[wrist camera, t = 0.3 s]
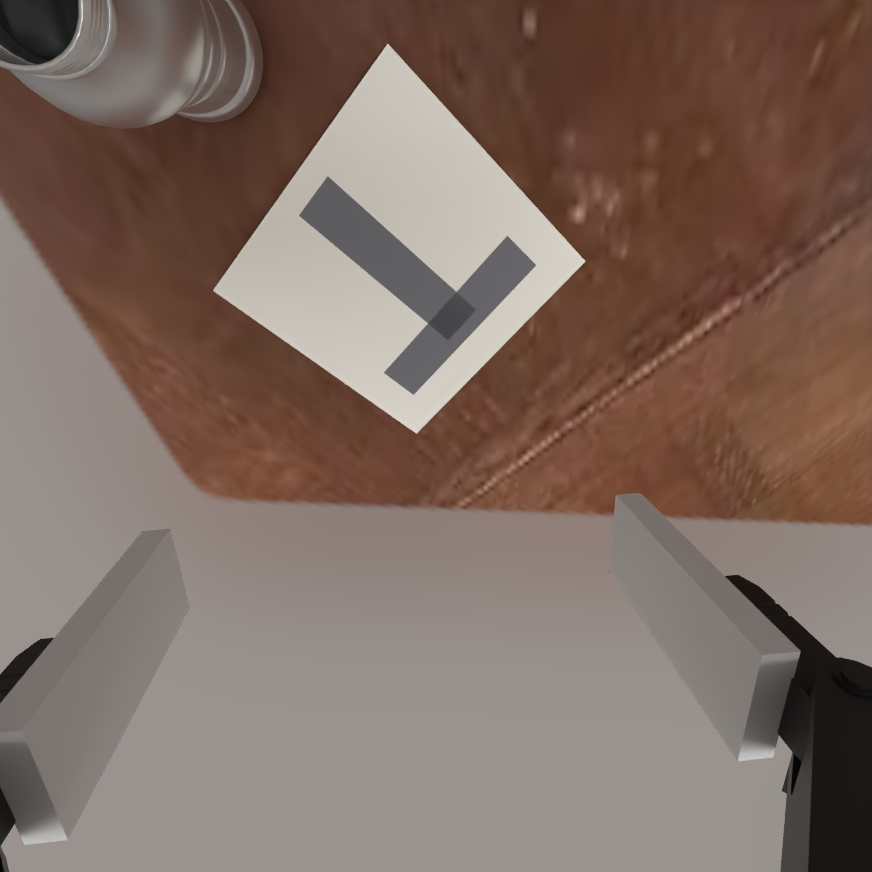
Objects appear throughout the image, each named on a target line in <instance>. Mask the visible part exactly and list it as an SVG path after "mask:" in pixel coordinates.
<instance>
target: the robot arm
mask: <svg viewBox="0 0 872 872" xmlns="http://www.w3.org/2000/svg"><path fill="white" fill-rule="evenodd" d="M609 572H610V574H611V575H612V577H613V578H614V580H615V581H616V583H617V584H618V586H619V587H620V588H621V590H622V591H623V593H624V594H625V596H626V597H627V599H628V600H629V602H630V603H631V605H632V606H633V608H634V609H635V611H636V612H637V614H638V615H639V617H640V618H641V620H642V621H643V623H644V624H645V625H646V627H647V628H648V630H649V631H650V633H651V634H652V636H653V637H654V639H655V640H656V642H657V643H658V645H659V646H660V648H661V649H662V651H663V652H664V653H665V655H666V656H667V658H668V659H669V661H670V662H671V664H672V665H673V667H674V668H675V670H676V671H677V673H678V674H679V676H680V677H681V679H682V680H683V681H684V683H685V684H686V686H687V687H688V689H689V690H690V692H691V693H692V695H693V696H694V698H695V699H696V700H697V702H698V704H699V705H700V707H701V708H702V709H703V711H704V712H705V714H706V715H707V717H708V718H709V720H710V721H711V723H712V724H713V726H714V727H715V729H716V730H717V731H718V733H719V734H720V736H721V737H722V739H723V740H724V742H725V743H726V745H727V746H728V748H729V749H730V751H731V752H732V754H733V755H734V757H735V758H736V759H737V761H744V760H753V759H761V758H769V757H773V755H774V752H775V747H776V744H777V740H778V736H779V735H780V737H781V738H782V739H783V741H784V742H785V743H786V744H787V746H788V747H789V748H790V749H791V751H792V752H793V753H792V757H791V760H790V764H789V767H788V771H787V775H786V778H785V782H784V785H783V789H782V791H783V792H785V793H787V800H786V812H785V824H784V837H783V849H782V861H781V872H872V667H869V666H867V665H864V664H862V663H860V662H857V661H854V660H849V659H844V658H836V657H835V656H834V655H833V654H832V653H831V652H830V651H828V650H827V649H826V648H825V647H824V646H823V645H822V644H821V643H820V642H819V641H818V640H817V639H815V638H814V637H813V636H812V635H811V634H810V633H809V632H808V631H807V630H806V629H805V628H804V627H802V626H801V625H800V624H799V623H798V622H797V621H796V620H795V619H794V618H793V617H792V616H788V613H787V612H786V611H785V610H784V609H783V608H782V607H781V606H780V605H779V604H775V601H774V600H773V599H772V598H771V597H770V596H769V595H768V594H767V593H766V592H765V591H763V590H762V589H761V588H760V587H759V586H757V585H755V584H754V583H752V582H750V581H748V580H746V579H745V578H743V577H741V576H739V575H732V576H724V575H723V574H722V573H721V572H720V571H719V570H718V569H717V568H716V567H715V566H714V565H713V564H712V563H711V562H710V561H709V560H708V559H707V558H706V557H705V556H704V555H702V553H701V552H699V550H698V549H696V547H695V546H693V544H692V543H691V542H690V541H689V540H688V539H686V538H685V537H684V536H683V535H682V534H681V533H680V532H679V531H678V530H677V529H676V528H675V527H674V526H673V525H672V524H671V523H670V522H669V521H668V520H667V519H666V518H665V517H664V516H663V515H662V514H661V513H660V512H659V511H658V510H657V509H656V508H655V507H654V506H653V505H652V504H651V503H650V502H649V501H648V500H647V499H646V498H645V497H644V496H643V495H642V494H641V493H633V494H620V495H616V500H615V511H614V522H613V533H612V544H611V554H610V565H609ZM188 610H189V604H188V599H187V595H186V591H185V587H184V583H183V579H182V575H181V570H180V567H179V563H178V558H177V554H176V550H175V546H174V542H173V538H172V534H171V530H170V529H164V530H150V531H142V532H141V534H140V535H139V536H138V537H137V538H136V540H135V541H134V542H133V543H132V545H131V546H130V547H129V548H128V549H127V551H126V552H125V553H124V554H123V555H122V557H121V558H120V559H119V560H118V561H117V563H116V564H115V565H114V566H113V568H112V569H111V570H110V571H109V572H108V574H107V575H106V576H105V577H104V578H103V580H102V581H101V582H100V583H99V585H98V586H97V587H96V588H95V589H94V590H93V592H92V593H91V594H90V595H89V597H88V598H87V599H86V600H85V602H84V603H83V604H82V605H81V606H80V607H79V609H78V610H77V611H76V612H75V614H74V615H73V616H72V617H71V618H70V620H69V621H68V622H67V623H66V624H65V626H64V627H63V628H62V629H61V631H60V632H59V633H58V634H57V635H56V637H55V638H47V639H40V640H38V641H37V642H36V643H34V644H33V645H31V646H30V647H29V648H27V649H26V650H24V651H23V652H22V653H20V654H19V655H18V656H16V657H15V658H14V660H13V661H12V662H11V663H10V664H9V665H8V666H7V668H6V669H5V670H4V671H3V672H2V673H1V674H0V846H1V844H2V843H3V841H4V839H5V838H6V836H7V835H8V833H9V832H10V830H11V829H12V827H13V825H14V824H15V825H16V828H17V829H18V832H19V834H20V836H21V838H22V840H23V843H24V844H25V845H28V844H36V843H45V842H54V841H62V840H68V839H69V836H70V835H71V833H72V831H73V829H74V827H75V825H76V823H77V821H78V819H79V818H80V815H81V814H82V812H83V810H84V808H85V806H86V804H87V802H88V800H89V799H90V797H91V795H92V793H93V791H94V789H95V787H96V785H97V783H98V781H99V780H100V778H101V776H102V774H103V772H104V770H105V768H106V766H107V764H108V763H109V761H110V759H111V757H112V755H113V753H114V751H115V749H116V747H117V745H118V743H119V742H120V740H121V738H122V736H123V734H124V732H125V730H126V728H127V726H128V724H129V723H130V721H131V719H132V717H133V715H134V713H135V711H136V709H137V707H138V706H139V704H140V702H141V700H142V698H143V696H144V694H145V692H146V690H147V688H148V686H149V685H150V683H151V681H152V679H153V677H154V675H155V673H156V671H157V669H158V667H159V665H160V664H161V662H162V660H163V658H164V656H165V654H166V652H167V650H168V648H169V647H170V644H171V643H172V641H173V639H174V637H175V635H176V633H177V631H178V629H179V627H180V625H181V624H182V622H183V620H184V618H185V616H186V614H187V612H188ZM0 872H9V870H8V865H7V861H6V857H5V855H4V853H3V851H2V849H1V847H0Z"/></svg>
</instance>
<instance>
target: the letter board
mask: <svg viewBox="0 0 872 872" xmlns="http://www.w3.org/2000/svg"><path fill="white" fill-rule="evenodd" d="M584 262H585V260H584V259H583V258H582V257H581V256H580V255H579V254H578V253H577V252H576V250H575V249H574V248H573V247H572V246H571V245H570V244H569V243H568V242H567V241H566V239H565V238H564V237H563V236H562V235H561V234H560V233H559V232H558V231H557V230H556V228H555V227H554V226H553V225H552V224H551V223H550V222H549V221H548V220H547V219H546V217H545V216H544V215H543V214H542V213H541V212H540V211H539V210H538V209H537V207H536V206H535V205H534V204H533V203H532V202H531V201H530V200H529V199H528V198H527V196H526V195H525V194H524V193H523V192H522V191H521V190H520V189H519V188H518V187H517V185H516V184H515V183H514V182H513V181H512V180H511V179H510V178H509V177H508V176H507V174H506V173H505V172H504V171H503V170H502V169H501V168H500V167H499V166H498V165H497V163H496V162H495V161H494V160H493V159H492V158H491V157H490V156H489V155H488V154H487V152H486V151H485V150H484V149H483V148H482V147H481V146H480V145H479V144H478V142H477V141H476V140H475V139H474V138H473V137H472V136H471V135H470V134H469V133H468V131H467V130H466V129H465V128H464V127H463V126H462V125H461V124H460V123H459V122H458V120H457V119H456V118H455V117H454V116H453V115H452V114H451V113H450V112H449V111H448V109H447V108H446V107H445V106H444V105H443V104H442V103H441V102H440V101H439V100H438V98H437V97H436V96H435V95H434V94H433V93H432V92H431V91H430V90H429V89H428V87H427V86H426V85H425V84H424V83H423V82H422V81H421V80H420V79H419V78H418V76H417V75H416V74H415V73H414V72H413V71H412V70H411V69H410V68H409V66H408V65H407V64H406V63H405V62H404V61H403V60H402V59H401V58H400V57H399V55H398V54H397V53H396V52H395V51H394V50H393V49H392V48H391V47H390V46H389V44H387V45H386V47H385V48H384V50H383V51H382V52H381V54H380V55H379V57H378V58H377V59H376V61H375V62H374V64H373V65H372V67H371V68H370V69H369V71H368V72H367V74H366V75H365V76H364V78H363V79H362V81H361V82H360V83H359V85H358V86H357V88H356V89H355V91H354V92H353V93H352V95H351V96H350V98H349V99H348V100H347V102H346V103H345V105H344V106H343V107H342V109H341V110H340V112H339V113H338V115H337V116H336V117H335V119H334V120H333V122H332V123H331V124H330V126H329V127H328V129H327V130H326V132H325V133H324V134H323V136H322V137H321V139H320V140H319V141H318V143H317V144H316V146H315V147H314V148H313V150H312V151H311V153H310V154H309V156H308V157H307V158H306V160H305V161H304V163H303V164H302V165H301V167H300V168H299V170H298V171H297V173H296V174H295V175H294V177H293V178H292V180H291V181H290V182H289V184H288V185H287V187H286V188H285V189H284V191H283V192H282V194H281V195H280V197H279V198H278V199H277V201H276V202H275V204H274V205H273V206H272V208H271V209H270V211H269V212H268V213H267V215H266V216H265V218H264V219H263V221H262V222H261V223H260V225H259V226H258V228H257V229H256V230H255V232H254V233H253V235H252V236H251V238H250V239H249V240H248V242H247V243H246V245H245V246H244V247H243V249H242V250H241V252H240V253H239V254H238V256H237V257H236V259H235V260H234V262H233V263H232V264H231V266H230V267H229V269H228V270H227V271H226V273H225V274H224V276H223V277H222V278H221V280H220V281H219V283H218V284H217V286H216V287H215V288H214V290H213V291H214V292H216V293H217V294H218V295H220V296H221V297H223V298H224V299H226V300H227V301H228V302H230V303H231V304H233V305H234V306H235V307H237V308H238V309H240V310H241V311H243V312H244V313H245V314H247V315H248V316H250V317H251V318H253V319H254V320H255V321H257V322H258V323H260V324H261V325H263V326H264V327H265V328H267V329H268V330H270V331H271V332H272V333H274V334H275V335H277V336H278V337H280V338H281V339H282V340H284V341H285V342H287V343H288V344H290V345H291V346H292V347H294V348H295V349H297V350H298V351H300V352H301V353H302V354H304V355H305V356H307V357H308V358H310V359H311V360H312V361H314V362H315V363H317V364H318V365H319V366H321V367H322V368H324V369H325V370H327V371H328V372H329V373H331V374H332V375H334V376H335V377H337V378H338V379H339V380H341V381H342V382H344V383H345V384H347V385H348V386H349V387H351V388H352V389H354V390H355V391H357V392H358V393H359V394H361V395H362V396H364V397H365V398H366V399H368V400H369V401H371V402H372V403H374V404H375V405H376V406H378V407H379V408H381V409H382V410H384V411H385V412H386V413H388V414H389V415H391V416H392V417H394V418H395V419H396V420H398V421H399V422H401V423H402V424H403V425H405V426H406V427H408V428H409V429H411V430H412V431H413V432H415V433H416V434H417V433H418V431H419V430H420V429H421V428H422V427H423V426H424V425H425V424H426V423H427V422H428V421H429V420H430V419H431V418H432V417H433V416H434V415H435V414H436V413H437V412H438V411H439V410H440V409H441V408H442V407H443V406H444V405H445V404H446V403H447V402H448V401H449V400H450V399H451V398H452V397H453V396H454V395H455V394H456V393H457V392H458V391H459V390H460V389H461V388H462V387H463V386H464V385H465V384H466V383H467V382H468V381H469V380H470V378H471V377H472V376H473V375H474V374H475V373H476V372H477V371H478V370H479V369H480V368H481V367H482V366H483V365H484V364H485V363H486V362H487V361H488V360H489V359H490V358H491V357H492V356H493V355H494V354H495V353H496V352H497V351H498V350H499V349H500V348H501V347H502V346H503V345H504V344H505V343H506V342H507V341H508V340H509V339H510V338H511V337H512V336H513V335H514V334H515V333H516V332H517V331H518V330H519V329H520V328H521V327H522V326H523V324H524V323H525V322H526V321H527V320H528V319H529V318H530V317H531V316H532V315H533V314H534V313H535V312H536V311H537V310H538V309H539V308H540V307H541V306H542V305H543V304H544V303H545V302H546V301H547V300H548V299H549V298H550V297H551V296H552V295H553V294H554V293H555V292H556V291H557V290H558V289H559V288H560V287H561V286H562V285H563V284H564V283H565V282H566V281H567V280H568V279H569V278H570V277H571V276H572V275H573V274H574V273H575V271H576V270H577V269H578V268H579V267H580V266H581V265H582V264H583V263H584Z"/></svg>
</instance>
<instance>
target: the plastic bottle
mask: <svg viewBox="0 0 872 872" xmlns="http://www.w3.org/2000/svg"><path fill="white" fill-rule="evenodd" d="M0 67H2V68H5V69H8V70H10V71H11V72H12V73H13V74H14V75H15V76H16V77H17V78H18V79H20V80H21V81H22V82H23V83H24V84H25V85H26V86H27V87H28V88H30V89H31V90H32V91H34V92H35V93H37V94H38V95H40V96H41V97H42V98H44V99H45V100H47V101H48V102H50V103H51V104H53V105H54V106H56V107H57V108H59V109H60V110H62V111H64V112H66V113H68V114H70V115H72V116H74V117H76V118H78V119H80V120H83V121H86V122H90V123H93V124H96V125H99V126H102V127H110V128H118V129H130V128H142V127H145V126H148V125H151V124H154V123H157V122H160V121H163V120H166V119H168V118H169V117H171V116H173V115H174V114H178V115H180V116H182V117H185V118H188V119H191V120H194V121H199V122H207V123H212V122H222V121H225V120H228V119H231V118H234V117H235V116H237V115H239V114H240V113H242V112H243V111H244V110H245V109H246V108H247V107H248V106H249V105H250V104H251V103H252V101H253V99H254V98H255V96H256V94H257V93H258V90H259V87H260V84H261V81H262V73H263V51H262V46H261V42H260V38H259V34H258V32H257V29H256V27H255V24H254V22H253V19H252V18H251V16H250V14H249V12H248V11H247V9H246V7H245V6H244V4H243V3H242V2H241V1H240V0H0Z"/></svg>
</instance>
